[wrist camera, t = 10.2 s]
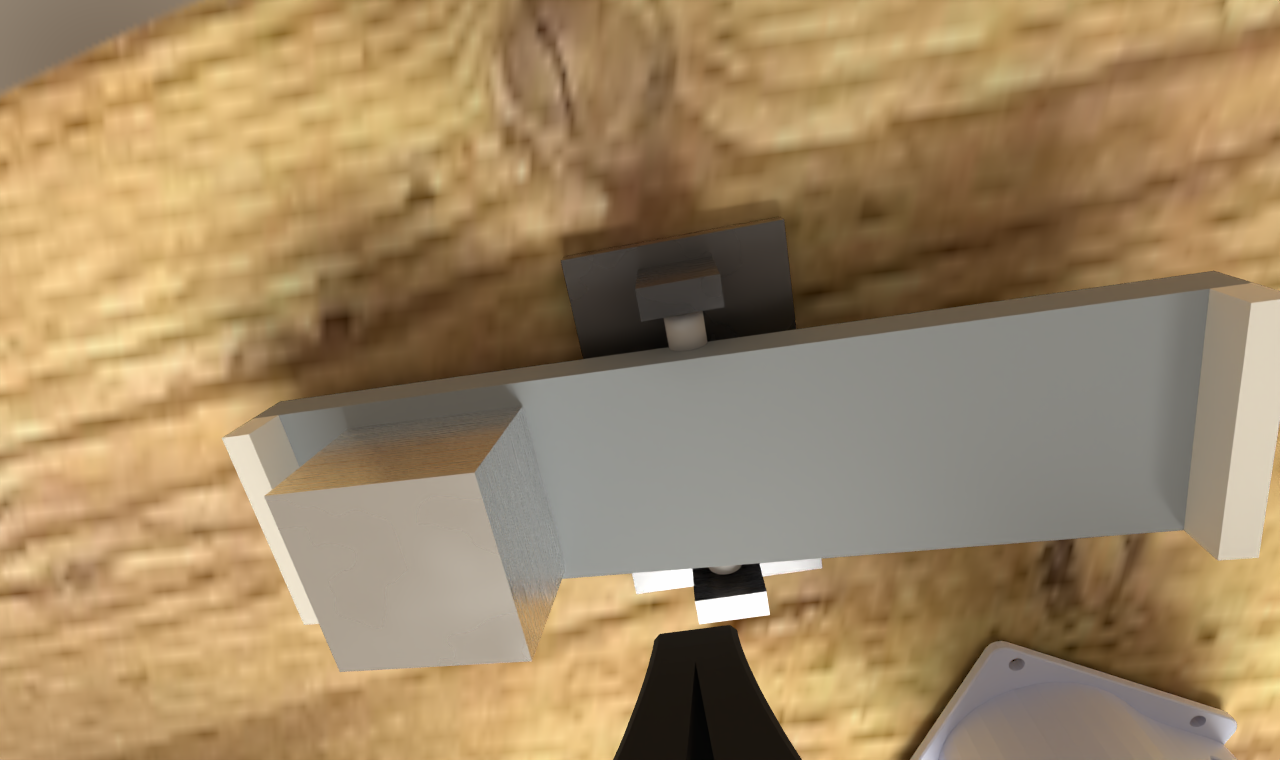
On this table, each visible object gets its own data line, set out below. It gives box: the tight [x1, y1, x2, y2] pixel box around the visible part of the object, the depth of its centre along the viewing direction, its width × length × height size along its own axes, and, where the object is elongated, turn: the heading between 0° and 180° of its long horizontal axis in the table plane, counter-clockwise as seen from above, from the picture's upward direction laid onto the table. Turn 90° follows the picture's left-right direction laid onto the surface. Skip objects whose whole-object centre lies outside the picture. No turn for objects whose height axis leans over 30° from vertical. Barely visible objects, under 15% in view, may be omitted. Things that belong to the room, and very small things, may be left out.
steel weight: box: [264, 406, 566, 672], centre depth 17 cm, size 5×5×4 cm
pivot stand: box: [561, 217, 822, 624], centre depth 19 cm, size 6×11×3 cm, turn 11°
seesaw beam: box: [222, 271, 1280, 625], centre depth 17 cm, size 24×8×3 cm, turn 100°
